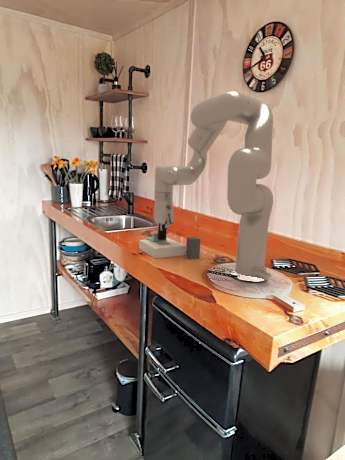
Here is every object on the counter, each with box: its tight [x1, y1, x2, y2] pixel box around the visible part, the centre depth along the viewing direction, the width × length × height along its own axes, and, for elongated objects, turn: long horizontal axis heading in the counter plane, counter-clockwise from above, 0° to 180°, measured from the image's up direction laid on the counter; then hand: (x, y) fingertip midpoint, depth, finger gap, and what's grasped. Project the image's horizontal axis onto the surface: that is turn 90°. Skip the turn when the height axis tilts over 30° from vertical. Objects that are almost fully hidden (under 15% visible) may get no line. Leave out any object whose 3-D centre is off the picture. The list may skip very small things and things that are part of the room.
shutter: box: [145, 232, 167, 242], centre depth 141 cm, size 7×7×4 cm
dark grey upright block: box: [185, 236, 201, 260], centre depth 130 cm, size 4×4×8 cm
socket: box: [138, 237, 186, 259], centre depth 137 cm, size 16×14×4 cm
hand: (161, 239), depth 137 cm, fingers closed
